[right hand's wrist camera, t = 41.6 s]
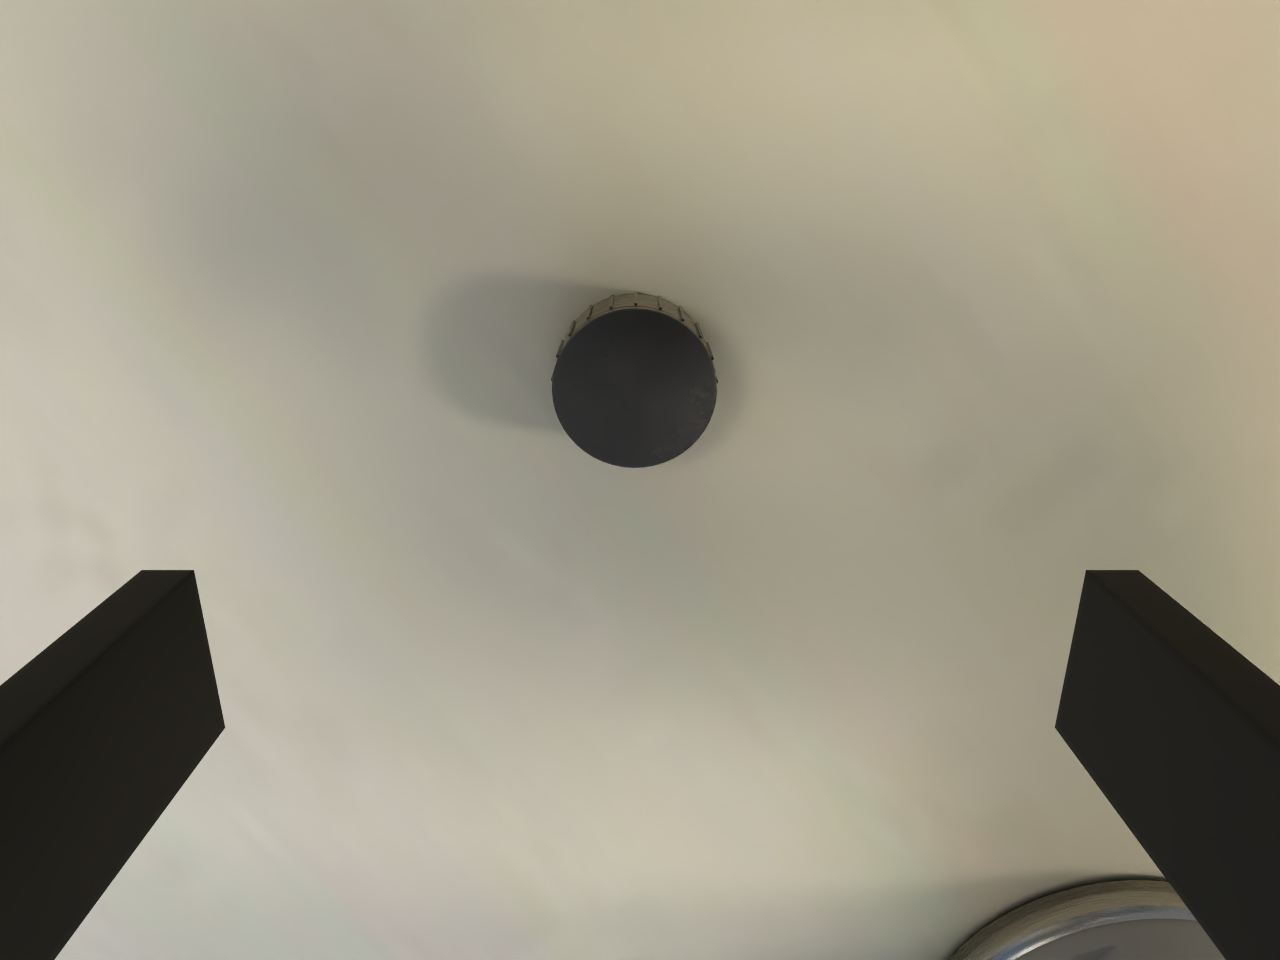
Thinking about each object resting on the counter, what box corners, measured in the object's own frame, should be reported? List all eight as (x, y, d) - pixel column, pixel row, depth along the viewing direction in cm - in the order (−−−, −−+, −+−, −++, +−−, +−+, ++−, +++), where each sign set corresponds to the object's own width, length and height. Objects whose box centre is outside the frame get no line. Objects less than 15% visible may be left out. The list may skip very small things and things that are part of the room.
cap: (741, 343, 26) (751, 362, 24) (660, 468, 28) (662, 498, 25) (607, 261, 25) (604, 273, 23) (530, 395, 27) (520, 419, 24)
